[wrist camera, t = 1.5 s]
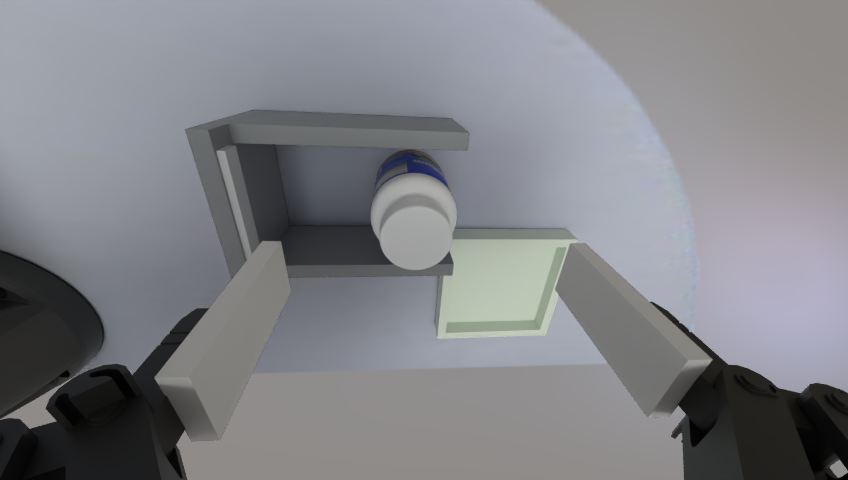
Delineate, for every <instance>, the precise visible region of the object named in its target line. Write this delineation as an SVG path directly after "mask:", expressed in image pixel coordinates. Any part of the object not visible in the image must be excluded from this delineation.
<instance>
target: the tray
mask: <svg viewBox="0 0 848 480" xmlns="http://www.w3.org/2000/svg"><path fill="white" fill-rule="evenodd" d="M452 234H453V239H452V244H451V248H450V250H449V251H450V254H451V257H452V260H453V263H454V267H453V275H452V276H439V285H438V296H437V307H436V317H435V328H436V334H437V339H446V338H475V337H503V336H532V335H546V332H547V329H548V326H549V323H550V320H551V317H552V314H553V311H554V308H555V305H556V302H557V300H558V297H559V295H558V293H557V292H556V290H555V288H556V285H557V282H558V279H559V276H560V273H561V269H562V266H563V263H564V260H565V257H566V254H567V251H568V248H569V245H570V243H577V241H578V239H577V238H576V237H575V236H574V235H572V234H571V233H570V232H569V231H568V230H567V229H454V231H453V233H452Z"/></svg>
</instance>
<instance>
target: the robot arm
mask: <svg viewBox="0 0 848 480" xmlns="http://www.w3.org/2000/svg"><path fill="white" fill-rule="evenodd" d="M555 290H556V292H557V293H558V295H559V296H560V297H561V299H562V300H563V301H564V303H565V304H566V306H567V307H568V308H569V310H570V311H571V313H572V314H573V315H574V317H575V318H576V319H577V321H578V322H579V324H580V325H581V326H582V328H583V329H584V331H585V332H586V333H587V335H588V336H589V337H590V339H591V340H592V342H593V343H594V344H595V346H596V347H597V349H598V350H599V351H600V353H601V354H602V355H603V357H604V358H605V360H606V361H607V362H608V364H609V365H610V366H611V368H612V369H613V371H614V372H615V373H616V375H617V376H618V378H619V379H620V380H621V382H622V383H623V385H624V386H625V387H626V389H627V390H628V391H629V393H630V394H631V396H632V397H633V398H634V400H635V401H636V402H637V404H638V405H639V407H640V408H641V409H642V411H643V412H644V414H645V415H646V416H647V418H660V417H670V416H671V414H672V413H673V411H674V410H675V409H676V408H677V406H678V405H679V406H680V408H681V409H682V410H683V411H684V412H685V413H686V416H685V417H684V418H683V419H682V421H681V422H680V423H679V425H678V426H677V427H676V428H675V430H674V431H673V432H672V435H671V437H673V438H676V437H677V436H678V434H680V433H682V437H683V440H682V441H681V442H682V443H683V461H684V462H683V463H684V480H848V473H847V474H845V475H844V476H842V477H840V478H837V477H836V475H834V473H833V472H832V471H831V469H830V466H831V465H832V464H834V463H835V462H836V461H838V460H839V459H840V460H841V462H842V463H843V464H844V466H845V467H846V469H847V470H848V393H846V392H845V391H843V390H840V389H837V388H834V387H831V386H829V385H825V384H819V383H814V384H810V385H809V386H808V387H807V388H806V389H805V390H804V391H803V392H802V393H797V392H792V391H788V390H784V389H779V388H777V387H776V386H775V385H774V384H773V383H772V382H771V381H769V380H768V379H766V378H765V377H763V376H762V375H760V374H758V373H756V372H754V371H752V370H750V369H747V368H744V367H741V366H738V365H728V364H727V363H726V362H725V361H723V360H722V359H721V358H720V357H719V356H718V355H717V354H715V353H714V352H713V351H712V350H711V349H710V348H709V347H708V346H706V345H705V344H704V343H703V342H702V341H701V340H700V339H699V338H697V337H696V336H695V335H694V334H693V333H692V332H689V330H688V329H687V328H686V327H685V326H684V325H683V324H682V323H679V321H678V320H677V319H676V318H675V317H674V316H673V315H672V314H670V313H669V312H668V311H667V310H665V309H664V308H662V307H660V306H658V305H657V304H655V303H653V302H649V301H648V300H647V299H646V298H645V297H644V296H643V295H642V294H640V293H639V292H638V291H637V290H636V289H635V288H634V287H633V286H632V285H631V284H630V283H628V282H627V281H626V280H625V279H624V278H623V277H622V276H621V275H620V274H619V273H618V272H616V271H615V270H614V269H613V268H612V267H611V266H610V265H609V264H608V263H607V262H605V261H604V260H603V259H602V258H601V257H600V256H599V255H598V254H597V253H596V252H595V251H593V250H592V249H591V248H590V247H589V246H588V245H587V244H586V243H570V245H569V248H568V251H567V254H566V257H565V260H564V263H563V266H562V269H561V273H560V276H559V279H558V282H557V285H556V288H555ZM290 293H291V289H290V284H289V279H288V274H287V269H286V264H285V259H284V254H283V249H282V244H281V241H262V242H261V243H260V245H259V246H258V247H257V248H256V250H255V251H254V252H253V254H252V255H251V256H250V257H249V259H248V260H247V261H246V262H245V264H244V265H243V266H242V267H241V269H240V270H239V271H238V272H237V274H236V275H235V276H234V278H233V279H232V280H231V281H230V283H229V284H228V285H227V286H226V288H225V289H224V290H223V291H222V293H221V294H220V295H219V297H218V298H217V299H216V300H215V302H214V303H213V304H212V305H211V307H210V308H201V309H195V310H194V311H192V312H191V313H190V314H188V315H187V316H185V317H184V318H182V319H181V320H180V321H179V322H178V323H177V324H176V326H175V327H174V328H173V329H172V330H171V331H170V334H169V335H167V336H166V337H165V338H164V339H163V341H162V342H161V345H158V346H157V348H156V349H155V350H154V351H153V352H152V353H151V354H150V356H149V357H148V358H147V359H146V360H145V361H144V362H143V364H142V365H141V366H140V367H139V368H138V369H137V371H136V372H135V373H134V374H133V375H131V373H130V372H129V370H128V369H127V368H126V366H123V365H119V364H112V365H104V366H100V367H97V368H94V369H91V370H88V371H86V372H84V373H82V374H80V375H78V376H76V377H75V378H73V379H71V380H70V381H69V382H67V383H66V384H64V385H63V386H62V387H60V388H59V389H58V390H57V391H56V393H55V394H54V395H53V396H52V397H51V398H50V399H49V402H48V404H47V406H46V410H48V412H49V413H50V414H51V415H52V416H53V417H54V418H55V419H56V421H57V422H53V423H49V424H46V425H42V426H39V427H35V428H32V429H29V428H28V427H27V426H26V425H25V424H24V423H23V422H22V421H21V420H20V419H13V418H8V419H3V420H0V480H187V477H186V473H185V470H184V466H183V462H182V459H181V455H180V451H179V449H178V448H177V446H176V444H177V442H178V440H179V439H180V437H181V435H182V434H183V432H184V430H185V431H186V433H187V435H188V436H189V438H190V440H191V442H194V441H213V440H220V439H221V437H222V435H223V433H224V431H225V429H226V427H227V425H228V423H229V420H230V418H231V416H232V414H233V412H234V410H235V408H236V406H237V404H238V402H239V400H240V397H241V396H242V393H243V391H244V389H245V387H246V385H247V383H248V381H249V379H250V377H251V375H252V373H253V370H254V368H255V366H256V364H257V362H258V360H259V358H260V356H261V354H262V352H263V350H264V347H265V345H266V343H267V341H268V339H269V337H270V335H271V333H272V331H273V329H274V327H275V324H276V322H277V320H278V318H279V316H280V314H281V312H282V310H283V308H284V306H285V304H286V302H287V299H288V297H289V295H290ZM102 341H103V333H102V328H101V325H100V322H99V320H98V318H97V316H96V314H95V313H94V311H93V310H92V308H91V307H90V306H89V305H88V304H87V302H86V301H85V300H84V299H83V298H82V297H81V296H80V295H79V294H77V293H76V292H75V291H74V290H73V289H72V288H70V287H69V286H68V285H66V284H65V283H64V282H62V281H61V280H59V279H58V278H56V277H55V276H53V275H51V274H50V273H48V272H46V271H44V270H42V269H40V268H39V267H37V266H34V265H32V264H30V263H28V262H26V261H23V260H21V259H19V258H16V257H13V256H11V255H8V254H5V253H2V252H0V419H2V418H3V417H5V416H7V415H8V414H10V413H12V412H14V411H15V410H17V409H19V408H21V407H22V406H24V405H26V404H28V403H29V402H31V401H33V400H35V399H36V398H38V397H40V396H41V395H43V394H45V393H46V392H48V391H50V390H51V389H53V388H55V387H56V386H59V385H61V384H62V383H64V382H66V381H67V380H69V379H70V378H72V377H73V376H74V375H76V374H77V373H78V372H79V371H80V370H81V369H82V368H83V367H84V366H85V365H86V364H87V363H88V362H89V361H90V360H91V359H92V358H93V357H95V355H96V354H97V353H98V352H99V350H100V348H101V345H102Z"/></svg>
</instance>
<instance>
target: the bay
mask: <svg viewBox="0 0 848 480" xmlns="http://www.w3.org/2000/svg"><path fill="white" fill-rule="evenodd" d="M185 131H186V134H187V137H188V140H189V144H190V147H191V150H192V153H193V156H194V160H195V163H196V166H197V169H198V172H199V175H200V179H201V182H202V185H203V188H204V191H205V194H206V198H207V201H208V204H209V207H210V210H211V214H212V217H213V220H214V223H215V226H216V229H217V233H218V236H219V239H220V242H221V245H222V248H223V252H224V255H225V258H226V261H227V264H228V267H229V271H230V274H231V277H232V279H233V278H234V276H235V275H236V274H237V272H238V271H239V270H240V269H241V267H242V266H243V265H244V264H245V262H246V261H247V260H248V259H249V257H250V256H251V255H252V254H253V252H254V251H255V250H256V248H257V247H258V246H259V245H260V243H261V242H262V241H281V244H282V249H283V254H284V259H285V264H286V269H287V274H288V278H297V277H376V276H452V275H453V267H454V263H453V260H452V257H451V254H450V251H449V252H448V253H447V255H446V256H445V257H444V258H443V259H442V260H441V261H440V262H439V263H437V264H436V265H434V266H432V267H429V268H426V269H421V270H409V269H404V268H401V267H399V266H397V265H395V264H393V263H392V262H391V261H390V260H389V259H388V258H387V257H386V256H385V255H384V253H383V251H382V249H381V246H380V241H379V239H378V238H377V236H376V235H375V233H374V231H373V228H372V226H289V221H288V215H287V210H286V204H285V199H284V193H283V188H282V182H281V177H280V172H279V166H278V161H277V155H276V150H275V144H277V145H308V146H339V147H370V148H401V149H432V150H463V151H467V150H468V141H469V132H468V131H467V130H465V129H464V128H463V127H462V126H460V125H459V124H458V123H457V122H455V121H454V120H453V119H452V118H430V117H407V116H384V115H361V114H338V113H315V112H292V111H269V110H251V111H247V112H244V113H240V114H237V115H233V116H230V117H226V118H223V119H219V120H216V121H212V122H209V123H205V124H202V125H198V126H195V127H191V128H188V129H185Z"/></svg>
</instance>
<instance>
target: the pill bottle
mask: <svg viewBox="0 0 848 480" xmlns="http://www.w3.org/2000/svg"><path fill="white" fill-rule="evenodd" d="M456 221H457V209H456V204H455V201H454V198H453V196H452V194H451V191H450V189H449V187H448V185H447V183H446V180H445V178H444V176H443V174H442V172H441V170H440V168H439V166H438V165H437V163H436V162H435V161H434V160H433V159H432V158H431V157H429V156H428V155H426V154H424V153H422V152H419V151H412V150H408V151H402V152H398V153H396V154H394V155H392V156H390V157H389V158H388V159H387V160H386V161H385V162H384V163H383V164H382V166H381V167H380V169H379V171H378V173H377V177H376V183H375V189H374V194H373V200H372V205H371V224H372V228H373V231H374V233H375V235H376V236H377V238H378V239H379V241H380V246H381V249H382V251H383V253H384V255H385V256H386V257H387V258H388V259H389V260H390V261H391V262H392V263H393V264H395V265H397V266H399V267H401V268H404V269H409V270H421V269H426V268H429V267H432V266H434V265H436V264H437V263H439V262H440V261H441V260H442V259H443V258H444V257H445V256H446V255H447V253H448V252H449V250H450V248H451V244H452V239H453V234H452V233H453V231H454V229H455V226H456Z"/></svg>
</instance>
